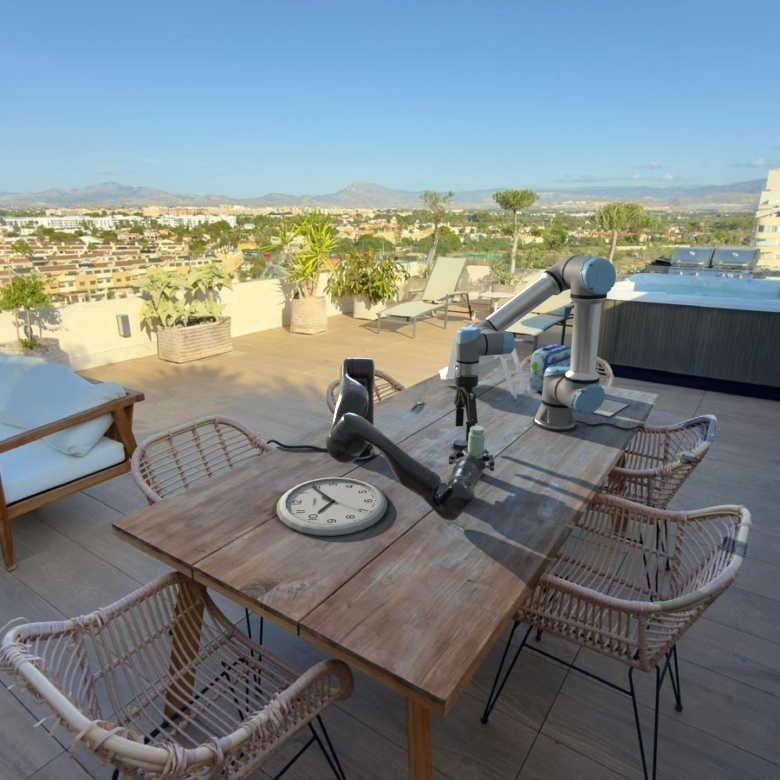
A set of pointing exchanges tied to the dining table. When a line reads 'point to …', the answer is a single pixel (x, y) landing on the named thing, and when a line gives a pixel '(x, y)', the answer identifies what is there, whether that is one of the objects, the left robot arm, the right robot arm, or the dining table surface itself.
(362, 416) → the left robot arm
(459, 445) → the lid
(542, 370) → the lunch box
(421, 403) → the fork
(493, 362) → the white plastic object
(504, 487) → the dining table surface
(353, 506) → the wall clock
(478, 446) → the jar
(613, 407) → the invitation card
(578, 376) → the right robot arm
